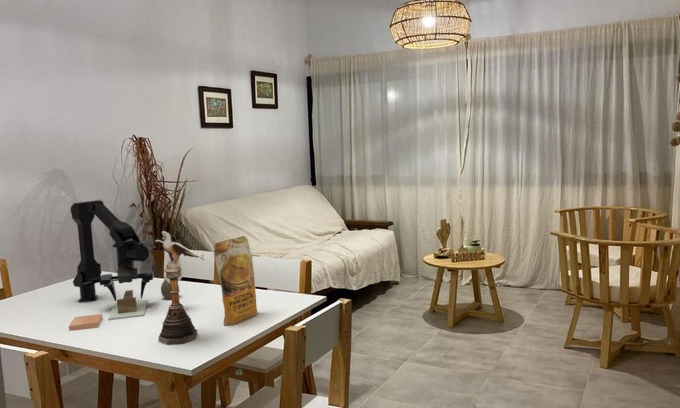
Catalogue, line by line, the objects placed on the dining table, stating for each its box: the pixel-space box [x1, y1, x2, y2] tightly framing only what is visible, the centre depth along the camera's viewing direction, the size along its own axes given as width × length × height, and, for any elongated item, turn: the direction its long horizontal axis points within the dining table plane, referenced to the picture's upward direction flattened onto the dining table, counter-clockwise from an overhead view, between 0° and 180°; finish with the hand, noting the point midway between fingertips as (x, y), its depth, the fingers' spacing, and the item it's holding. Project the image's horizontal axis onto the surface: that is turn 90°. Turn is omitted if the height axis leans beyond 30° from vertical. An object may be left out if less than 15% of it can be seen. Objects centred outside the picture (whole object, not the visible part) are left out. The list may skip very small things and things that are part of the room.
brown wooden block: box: [116, 289, 137, 314], centre depth 209 cm, size 13×6×5 cm, turn 16°
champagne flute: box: [163, 249, 186, 313], centre depth 205 cm, size 7×7×24 cm
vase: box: [160, 278, 180, 300], centre depth 222 cm, size 7×7×9 cm
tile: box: [68, 313, 103, 331], centre depth 193 cm, size 2×9×10 cm
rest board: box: [108, 299, 148, 321], centre depth 208 cm, size 20×12×1 cm, turn 17°
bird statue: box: [154, 230, 205, 346], centre depth 176 cm, size 17×13×35 cm
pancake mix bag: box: [213, 235, 258, 326], centre depth 191 cm, size 7×19×28 cm, turn 146°
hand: (128, 299), depth 211 cm, fingers open, 9 cm apart
